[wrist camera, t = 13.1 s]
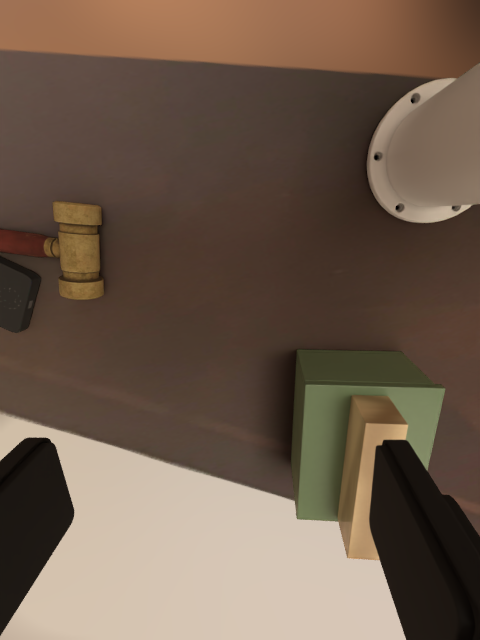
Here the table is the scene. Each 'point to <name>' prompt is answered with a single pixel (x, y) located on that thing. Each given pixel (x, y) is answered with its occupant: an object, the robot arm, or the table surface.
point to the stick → (364, 468)
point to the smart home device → (16, 295)
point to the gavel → (66, 248)
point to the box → (345, 380)
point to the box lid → (331, 434)
